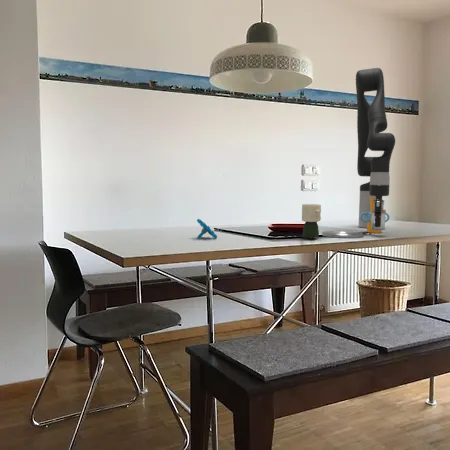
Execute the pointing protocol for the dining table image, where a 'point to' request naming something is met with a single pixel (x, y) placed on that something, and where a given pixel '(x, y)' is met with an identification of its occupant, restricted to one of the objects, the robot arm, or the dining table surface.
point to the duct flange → (342, 234)
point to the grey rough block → (381, 221)
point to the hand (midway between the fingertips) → (378, 225)
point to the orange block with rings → (371, 217)
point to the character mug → (311, 220)
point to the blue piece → (205, 229)
